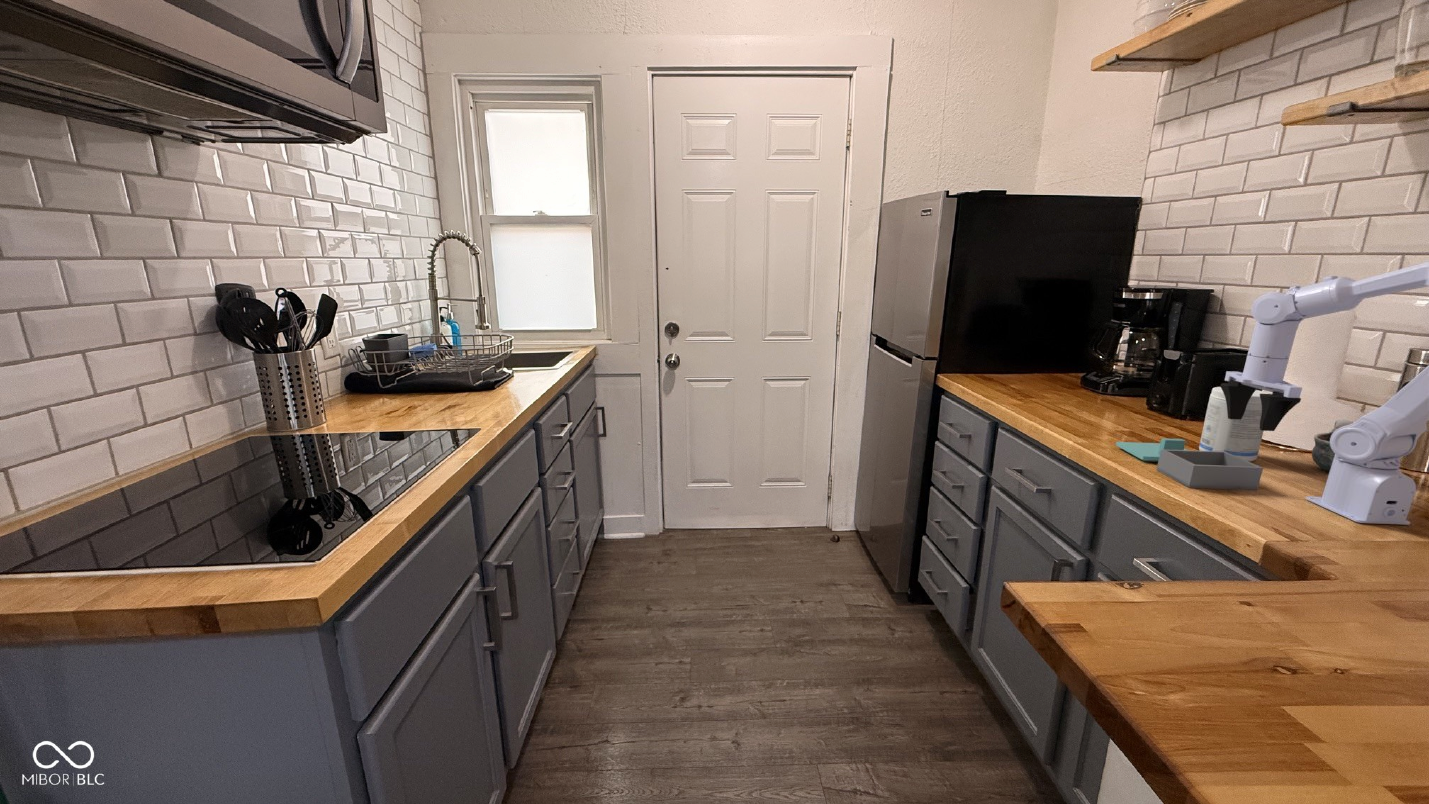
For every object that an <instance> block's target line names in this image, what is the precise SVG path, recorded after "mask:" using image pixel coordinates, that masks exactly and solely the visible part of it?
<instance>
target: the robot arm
mask: <svg viewBox="0 0 1429 804" xmlns="http://www.w3.org/2000/svg"><path fill="white" fill-rule="evenodd" d="M1427 287H1429V261H1426V262H1423V263H1419V264H1416V265H1415V264H1414V265H1412V266H1407V267H1403V268H1399V269H1396V270H1393V271H1390V272H1386V273H1382V274H1378V275H1374V276H1370V277H1368V278H1363V279H1360V280H1356V279H1353V278H1350V277H1347V276H1342V277H1338V275H1330V276H1327V277H1323V278H1322V282H1321V281H1320V282H1317V283H1313V284H1309V285H1305V286H1301V285H1294V286H1290V287H1289V290H1288V291H1287V292H1280V291H1269V292H1267V293H1265V294H1262V295H1261V296H1259V297H1258V298H1256V299H1255V300H1254V302H1253V303H1252V305H1251V309H1250V311H1251V315H1252V317H1253V318H1254V320H1256V321H1255V324H1254V328H1253V331H1252V335H1251V340H1250V344H1249V348H1248V352H1247V355H1246V359H1245V364H1244V368H1243V371H1242V372H1241V371H1227V370H1226V372H1225V377H1224V381H1225V383H1221V384H1220V387H1221V389H1222V390H1223V393H1224V395H1225V399H1226V404H1227V414H1228V419H1240V420H1241V419H1242V417H1243V415H1244V413H1245V410H1246V407H1247V404H1248V402H1249V400H1250V398H1251V396H1252V395H1253V393H1254V392H1255V391H1256V390H1261V391H1265V392H1268V393H1269V392H1270V393H1269V394H1260V399H1261V404H1262V415H1261V420H1260V430H1262V431H1264V432H1275V431H1276V429H1277V427H1278V426H1279V424H1280V423H1281V421H1282V420H1283V419H1284V417H1285V416H1286V415H1287V414H1288V413H1289V412H1290V411H1291V410H1292V409H1293V408H1294V407H1296V406H1297V405H1298V404H1299V403H1300V402H1301V400H1302V398H1301V394H1302V391H1303V390H1302V389H1303V387H1302V386H1301V387H1300V386H1297V385H1295V384H1292V383H1290V382H1287V381H1286V380H1284V379H1285V375H1286V370H1287V367H1288V365H1289V359H1290V357H1291V353H1292V352H1291V351H1292V348H1293V345H1294V341H1295V338H1296V334H1297V331H1298V329H1299V325H1300V323H1301V322H1302V321H1304V320H1306V319H1310V318H1316V317H1319V316H1320V317H1321V316H1325V315H1330V314H1335V313H1339V312H1345V311H1350V310H1353V309H1355V308H1357V307H1358V305H1360V303H1361V302H1362V301H1363V300H1365V299H1370V298H1375V297H1380V296H1386V295H1391V294H1396V293H1402V292H1407V291H1412V290H1417V289H1422V288H1427ZM1226 382H1227V383H1226ZM1427 422H1429V365H1427V366H1426V367H1425V368H1424V369H1423V370H1422V371H1421V372H1420V373H1418V374H1417V375H1416V376H1414V377H1413V379H1411V380H1410V381H1409V382H1408V383H1406V385H1404V386H1403V387H1402V388H1401V389H1400V390H1398V391H1397V392H1396V393H1395V394H1394V395H1393V396H1391V398H1390V399H1388V400H1387V402H1384V404H1382V405H1381V406H1379V407H1378V408H1376V409H1373V410H1372V411H1370V412H1368V413H1366V414H1364V415H1362V416H1361V417H1359V419H1357V420H1356V421H1355V422H1353V424H1350V425H1346V426H1343V427H1341V428H1339V429H1337V430H1336V431H1335V432H1334V433H1333V434H1332V435H1331V438H1330V446H1331V449H1332V450H1333V452H1334V453H1335V456H1334V459H1333V463H1332V466H1331V469H1330V472H1329V471H1328V476H1327V480H1326V483H1325V486H1324V490H1323V492H1322V495H1321V496H1305V500H1307V501H1309V502H1312V503H1313V504H1316V505H1318V506H1320V507H1322V508H1323V509H1324V508H1325V509H1327V510H1329V511H1331V512H1333V513H1336V514H1338V515H1340V516H1342V517H1345V518H1347V519H1349V520H1350V521H1351V520H1352V521H1354V522H1356V523H1360V524H1377V525H1378V524H1379V525H1380V524H1382V525H1385V524H1386V525H1404V526H1405V525H1406V526H1407V525H1409V526H1410V524H1411V521H1409V520H1407V517H1408V516H1409V512H1410V510H1411V506H1412V504H1413V502H1414V497H1415V495H1416V493H1417V484H1416V482H1415V480H1414V479H1413V478H1411V477H1410V476H1408V475H1406V474H1404V473H1403V472H1402V471H1401V469H1400V467H1401V458H1403V457H1404V456H1407V455H1410V453H1412V452H1413V451H1414V450H1415V448H1416V446H1417V442H1418V439H1419V438H1420V436H1421V435H1422V434H1423V433H1425V432H1426V431H1427V429H1428V427H1427V426H1428V425H1427Z"/></svg>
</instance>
